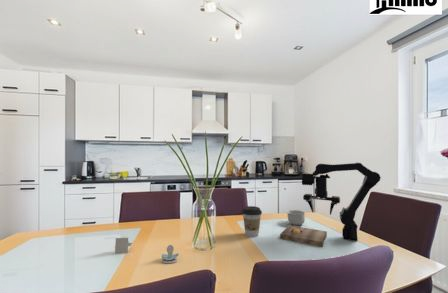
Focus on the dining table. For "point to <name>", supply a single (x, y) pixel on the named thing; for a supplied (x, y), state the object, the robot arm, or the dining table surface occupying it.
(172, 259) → the pacifier
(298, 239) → the pocket board
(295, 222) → the teacup
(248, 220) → the coffee cup
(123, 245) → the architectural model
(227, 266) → the dining table surface
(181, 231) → the dining table surface
